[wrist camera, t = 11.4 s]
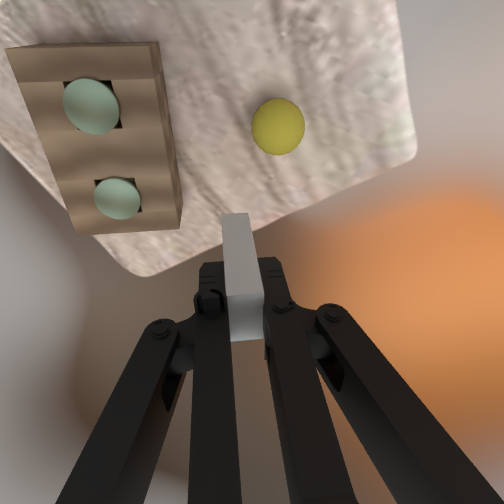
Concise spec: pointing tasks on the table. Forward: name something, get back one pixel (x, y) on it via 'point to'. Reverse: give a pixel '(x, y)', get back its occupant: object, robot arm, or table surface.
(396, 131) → the table surface
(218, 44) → the table surface
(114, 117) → the near plunger
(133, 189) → the far plunger
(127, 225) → the socket block
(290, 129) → the yellow light bulb
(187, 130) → the table surface
